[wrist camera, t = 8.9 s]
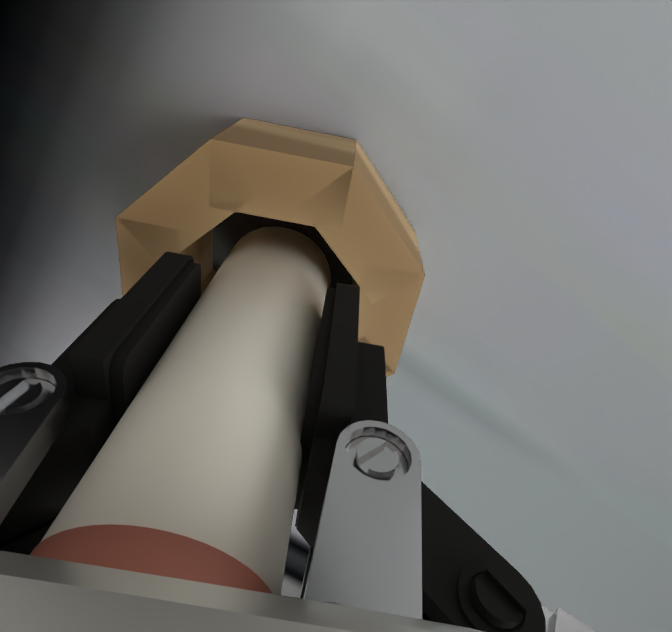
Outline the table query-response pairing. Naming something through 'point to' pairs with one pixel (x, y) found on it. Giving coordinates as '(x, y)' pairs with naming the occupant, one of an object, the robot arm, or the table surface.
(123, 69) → the table surface
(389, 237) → the bead
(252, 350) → the pink-tipped cream rod
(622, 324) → the table surface
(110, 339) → the robot arm
